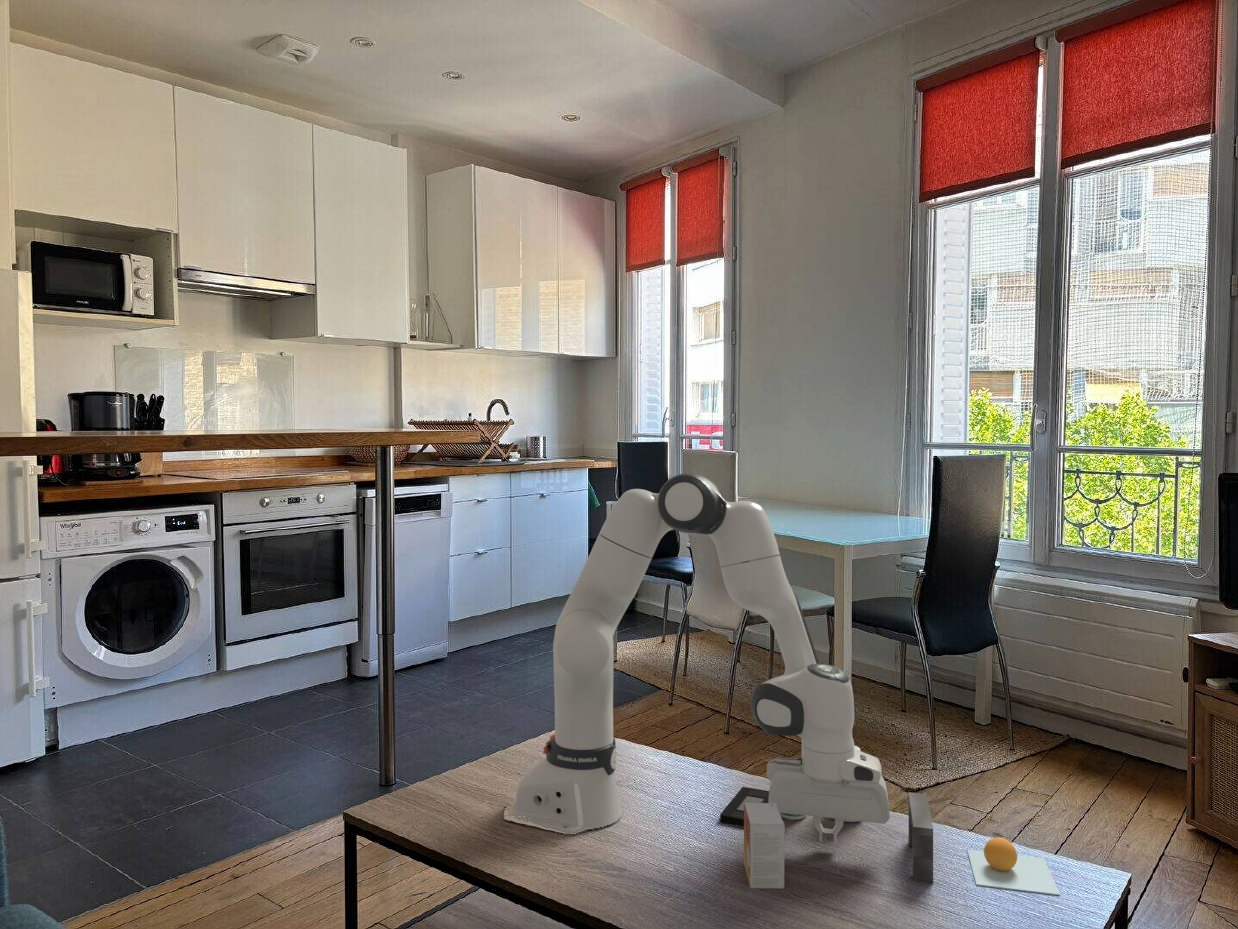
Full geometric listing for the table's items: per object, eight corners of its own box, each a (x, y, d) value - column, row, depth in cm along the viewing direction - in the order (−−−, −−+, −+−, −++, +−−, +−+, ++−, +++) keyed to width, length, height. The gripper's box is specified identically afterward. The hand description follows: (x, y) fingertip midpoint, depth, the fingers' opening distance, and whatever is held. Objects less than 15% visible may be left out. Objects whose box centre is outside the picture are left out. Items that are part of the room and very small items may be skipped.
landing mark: (976, 885, 135) (976, 884, 135) (967, 850, 147) (967, 849, 147) (1060, 895, 132) (1060, 894, 132) (1043, 859, 143) (1043, 858, 143)
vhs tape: (719, 825, 158) (719, 814, 158) (742, 796, 171) (742, 786, 171) (759, 833, 155) (759, 822, 155) (779, 803, 168) (779, 793, 168)
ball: (998, 882, 138) (979, 854, 139) (993, 866, 143) (975, 840, 143) (1026, 868, 137) (1007, 841, 137) (1020, 853, 142) (1002, 827, 142)
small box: (743, 864, 143) (743, 802, 142) (777, 864, 142) (777, 802, 142) (749, 889, 135) (749, 823, 134) (785, 889, 134) (784, 823, 134)
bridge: (913, 880, 137) (913, 826, 137) (908, 841, 150) (908, 792, 150) (933, 883, 136) (933, 829, 136) (926, 843, 149) (926, 794, 149)
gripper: (764, 762, 147) (765, 842, 147) (889, 773, 141) (890, 856, 141) (768, 749, 153) (769, 826, 153) (888, 760, 147) (888, 839, 147)
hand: (828, 841), depth 147 cm, fingers closed
